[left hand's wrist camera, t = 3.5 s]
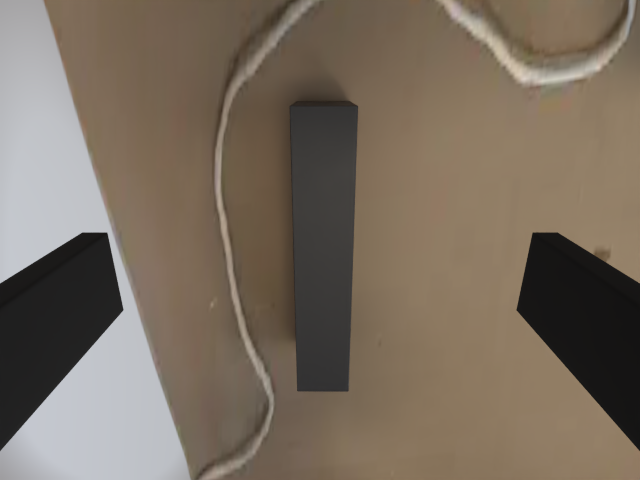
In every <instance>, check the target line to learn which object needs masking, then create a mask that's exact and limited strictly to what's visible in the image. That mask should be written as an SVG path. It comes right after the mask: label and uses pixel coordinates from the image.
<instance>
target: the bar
mask: <svg viewBox="0 0 640 480" xmlns="http://www.w3.org/2000/svg"><path fill="white" fill-rule="evenodd" d="M357 119H358V106H357V105H355V104H353V103H352V102H295V103H294V104H292V105H291V106H290V133H291V171H292V209H293V247H294V284H295V322H296V360H297V391H348V390H349V360H350V330H351V300H352V270H353V240H354V209H355V179H356V149H357Z"/></svg>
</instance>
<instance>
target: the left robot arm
mask: <svg viewBox="0 0 640 480" xmlns="http://www.w3.org/2000/svg"><path fill="white" fill-rule="evenodd" d="M122 311H123V306H122V301H121V296H120V291H119V287H118V282H117V277H116V272H115V268H114V263H113V258H112V253H111V248H110V243H109V239H108V234H107V233H81V234H80V235H78V236H76V237H75V238H73V239H71V240H70V241H68V242H67V243H65V244H63V245H62V246H60V247H58V248H57V249H55V250H54V251H52V252H50V253H49V254H47V255H46V256H44V257H42V258H41V259H39V260H38V261H36V262H34V263H33V264H31V265H29V266H28V267H26V268H25V269H23V270H21V271H20V272H18V273H16V274H15V275H13V276H12V277H10V278H8V279H7V280H5V281H4V282H2V283H0V451H1V449H2V448H3V447H4V446H5V445H6V444H7V443H8V441H9V440H10V439H11V438H12V437H13V436H14V435H15V433H16V432H17V431H18V430H19V429H20V428H21V427H22V425H23V424H24V423H25V422H26V421H27V420H28V419H29V417H30V416H31V415H32V414H33V413H34V412H35V411H36V409H37V408H38V407H39V406H40V405H41V404H42V403H43V401H44V400H45V399H46V398H47V397H48V396H49V395H50V393H51V392H52V391H53V390H54V389H55V388H56V387H57V385H58V384H59V383H60V382H61V381H62V380H63V379H64V377H65V376H66V375H67V374H68V373H69V372H70V371H71V369H72V368H73V367H74V366H75V365H76V364H77V363H78V361H79V360H80V359H81V358H82V357H83V356H84V355H85V353H86V352H87V351H88V350H89V349H90V348H91V347H92V345H93V344H94V343H95V342H96V341H97V340H98V339H99V337H100V336H101V335H102V334H103V333H104V332H105V331H106V329H107V328H108V327H109V326H110V325H111V324H112V323H113V321H114V320H115V319H116V318H117V317H118V316H119V315H120V313H121V312H122ZM517 311H518V312H519V313H520V315H521V316H522V317H523V318H524V319H525V320H526V321H527V323H528V324H529V325H530V326H531V327H532V328H533V329H534V331H535V332H536V333H537V334H538V335H539V336H540V337H541V339H542V340H543V341H544V342H545V343H546V344H547V345H548V347H549V348H550V349H551V350H552V351H553V352H554V353H555V355H556V356H557V357H558V358H559V359H560V360H561V361H562V363H563V364H564V365H565V366H566V367H567V368H568V369H569V371H570V372H571V373H572V374H573V375H574V376H575V377H576V379H577V380H578V381H579V382H580V383H581V384H582V385H583V387H584V388H585V389H586V390H587V391H588V392H589V393H590V395H591V396H592V397H593V398H594V399H595V400H596V401H597V403H598V404H599V405H600V406H601V407H602V408H603V409H604V411H605V412H606V413H607V414H608V415H609V416H610V417H611V419H612V420H613V421H614V422H615V423H616V424H617V425H618V427H619V428H620V429H621V430H622V431H623V432H624V433H625V435H626V436H627V437H628V438H629V439H630V440H631V441H632V443H633V444H634V445H635V446H636V447H637V448H638V449H639V451H640V283H638V282H636V281H635V280H633V279H632V278H630V277H628V276H627V275H625V274H624V273H622V272H620V271H619V270H617V269H615V268H614V267H612V266H611V265H609V264H607V263H606V262H604V261H603V260H601V259H599V258H598V257H596V256H594V255H593V254H591V253H590V252H588V251H586V250H585V249H583V248H582V247H580V246H578V245H577V244H575V243H573V242H572V241H570V240H569V239H567V238H565V237H564V236H562V235H561V234H559V233H533V234H532V239H531V243H530V248H529V253H528V258H527V262H526V267H525V272H524V277H523V282H522V286H521V291H520V296H519V301H518V306H517Z"/></svg>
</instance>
